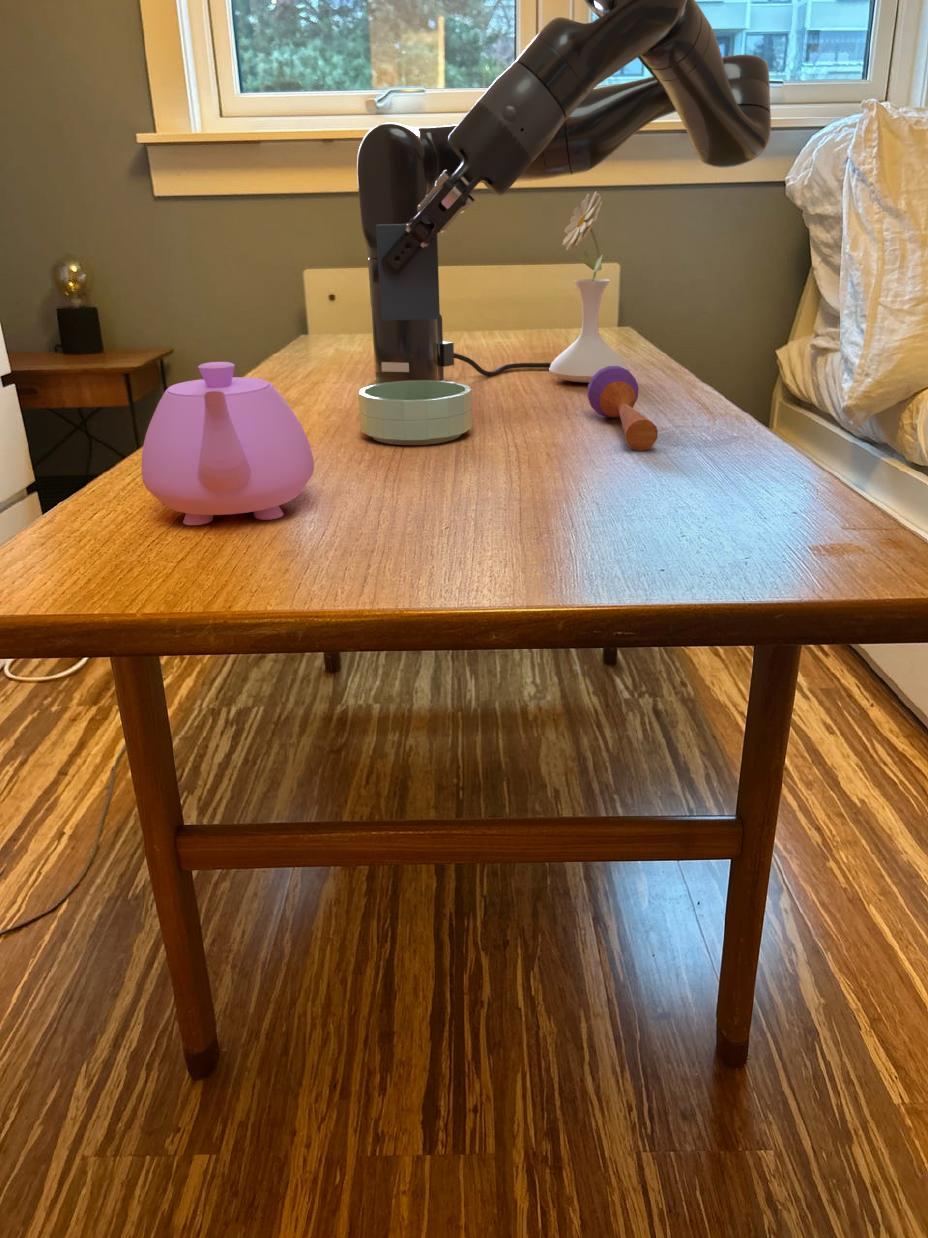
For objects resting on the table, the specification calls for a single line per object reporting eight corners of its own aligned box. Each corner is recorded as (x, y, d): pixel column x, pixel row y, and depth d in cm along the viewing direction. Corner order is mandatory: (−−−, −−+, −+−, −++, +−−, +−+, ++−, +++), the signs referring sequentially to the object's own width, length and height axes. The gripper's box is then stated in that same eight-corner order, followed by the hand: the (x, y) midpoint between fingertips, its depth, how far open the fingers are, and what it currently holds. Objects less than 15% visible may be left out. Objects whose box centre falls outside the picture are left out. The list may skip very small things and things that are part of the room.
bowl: (416, 418, 110) (415, 376, 108) (493, 432, 102) (493, 387, 100) (339, 436, 102) (335, 391, 100) (416, 453, 94) (414, 405, 92)
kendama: (609, 413, 91) (580, 366, 109) (616, 468, 94) (587, 414, 112) (667, 401, 91) (629, 355, 108) (673, 456, 94) (635, 404, 111)
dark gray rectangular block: (381, 317, 95) (376, 224, 91) (438, 315, 95) (435, 222, 91) (381, 320, 92) (375, 224, 88) (439, 318, 92) (436, 223, 89)
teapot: (325, 542, 69) (311, 381, 64) (133, 558, 67) (103, 392, 62) (312, 474, 87) (300, 344, 82) (160, 485, 85) (138, 351, 80)
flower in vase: (550, 374, 137) (554, 192, 127) (626, 374, 136) (636, 190, 125) (546, 390, 125) (549, 191, 115) (629, 390, 124) (640, 189, 113)
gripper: (544, 156, 82) (415, 301, 86) (524, 163, 95) (413, 289, 99) (485, 89, 79) (356, 243, 84) (473, 106, 92) (362, 238, 97)
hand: (388, 267), depth 92 cm, fingers closed on dark gray rectangular block, 3 cm apart
